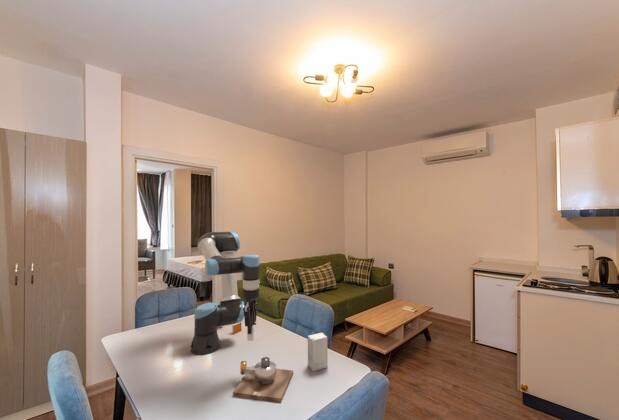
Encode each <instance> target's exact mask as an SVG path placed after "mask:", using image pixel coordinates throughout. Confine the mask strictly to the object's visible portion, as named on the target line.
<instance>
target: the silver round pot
mask: <svg viewBox="0 0 619 420" xmlns="http://www.w3.org/2000/svg"><path fill="white" fill-rule="evenodd" d="M260 359H261V360H260V361H259V362H257V363H256V364H255V365H254V366H255V367H252V366H248V365H247V363H248V362H247V361H246V360H242V361H240V364H239V365H240V369H239V370H240V371H239V374H240V375H242V376H245V375H246V374H251V375H255V379H256V380H257V381H260V382H267V381H271V380H273V379H274V378H275V376H276V369H277V365H276V363H275V362H274V361H272V360H271V359H270V357H268V356H264V357H262V358H260Z"/></svg>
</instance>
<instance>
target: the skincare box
mask: <svg viewBox="0 0 619 420" xmlns="http://www.w3.org/2000/svg"><path fill="white" fill-rule="evenodd" d="M328 360H329V359H328V336H327V335H325V334H324V333H323V332H318V333H315V334H310V335H307V366H308V367H309V369H310V370H311V371H312V372H315V371H319V370H322V369H325V368H328V365H329V364H328Z"/></svg>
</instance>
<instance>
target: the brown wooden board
mask: <svg viewBox="0 0 619 420" xmlns="http://www.w3.org/2000/svg"><path fill="white" fill-rule="evenodd" d="M251 367H255V365H252V366H251ZM293 376H294V370H291V369H283V368H276V376H275V378H274V379H273V380H271V381H267V382H260V381H257V380H256V379H255V375H251V374H245V375H242V378H241V379H240V380H241V381H240V382H239V383H238V385H237V386H236V388H234V391H233V392H232V397H235V398H237V397H238V398H245V399H253V400H260V401H268V402H275V403H282V402H283V399H284V396H285V394H286V392H287V389H288V388H289V384H290V383H291V380H292V378H293Z"/></svg>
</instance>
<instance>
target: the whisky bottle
mask: <svg viewBox="0 0 619 420" xmlns="http://www.w3.org/2000/svg"><path fill="white" fill-rule="evenodd" d="M243 327H245V322H244V323H242V321H241V322H240V323H236V324H231V329H232V331H231V332H232V335H236V334H238V333H240V332H242V329H243Z"/></svg>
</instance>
